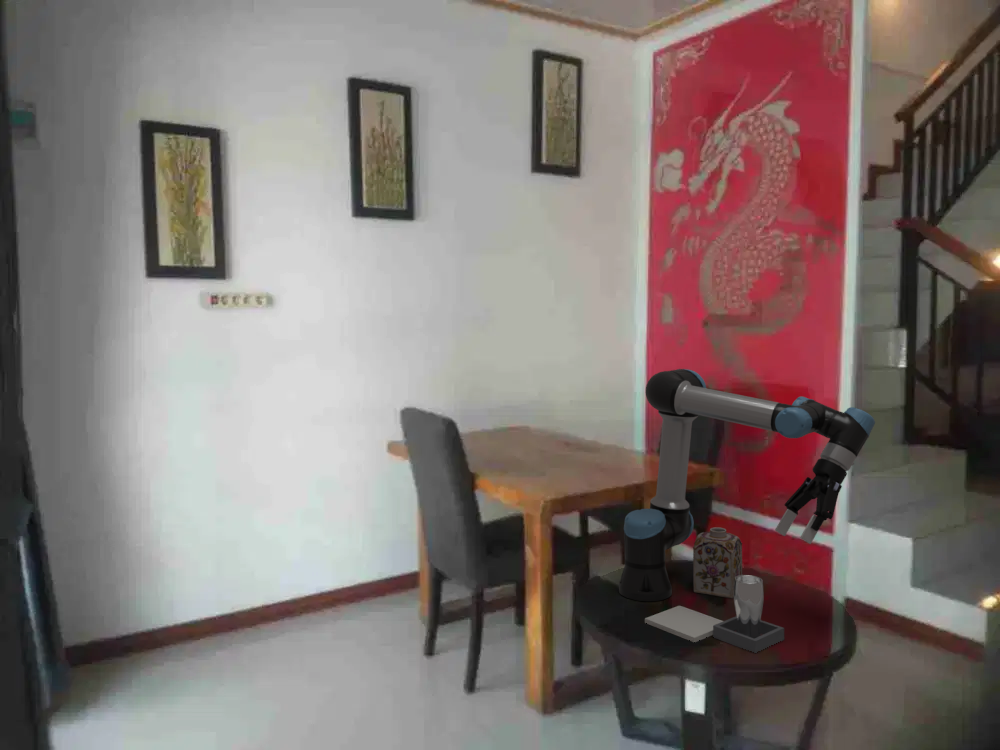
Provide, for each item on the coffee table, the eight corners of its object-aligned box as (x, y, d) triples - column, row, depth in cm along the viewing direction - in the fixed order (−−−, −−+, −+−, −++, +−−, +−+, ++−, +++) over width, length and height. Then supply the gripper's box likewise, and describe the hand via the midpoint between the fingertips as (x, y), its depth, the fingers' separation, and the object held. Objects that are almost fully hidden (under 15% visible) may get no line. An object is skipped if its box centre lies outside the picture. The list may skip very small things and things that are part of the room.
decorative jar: (743, 586, 220) (743, 526, 219) (733, 599, 210) (733, 536, 209) (702, 580, 226) (702, 522, 225) (691, 592, 216) (691, 531, 215)
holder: (713, 637, 185) (713, 625, 185) (742, 625, 192) (742, 613, 192) (755, 653, 176) (755, 641, 175) (784, 639, 183) (784, 627, 183)
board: (644, 622, 195) (644, 618, 195) (679, 609, 203) (679, 605, 203) (694, 642, 182) (694, 637, 182) (729, 627, 191) (729, 623, 191)
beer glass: (765, 645, 180) (765, 584, 179) (735, 643, 181) (735, 583, 180) (760, 633, 187) (760, 575, 186) (732, 632, 188) (732, 574, 187)
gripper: (874, 475, 176) (830, 553, 174) (820, 470, 201) (781, 537, 199) (847, 458, 176) (803, 535, 174) (797, 455, 201) (758, 522, 199)
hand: (791, 537), depth 186 cm, fingers open, 13 cm apart
